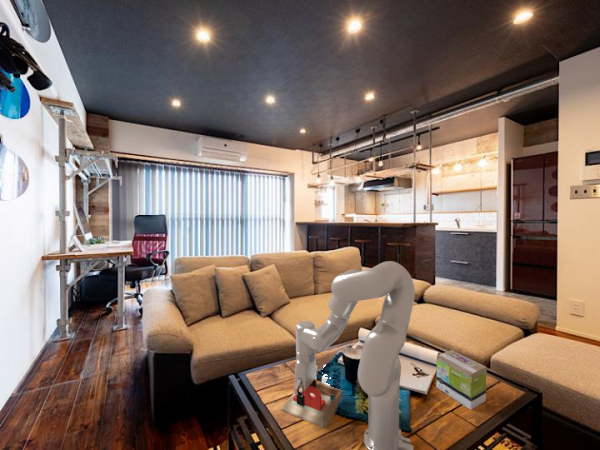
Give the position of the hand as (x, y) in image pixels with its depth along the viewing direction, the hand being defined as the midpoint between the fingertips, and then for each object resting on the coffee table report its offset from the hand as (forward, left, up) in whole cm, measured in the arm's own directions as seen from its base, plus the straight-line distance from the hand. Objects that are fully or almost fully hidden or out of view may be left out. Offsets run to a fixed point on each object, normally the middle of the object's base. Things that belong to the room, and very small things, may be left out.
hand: (306, 396), depth 108 cm
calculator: (-4, -21, -5) cm, 22 cm away
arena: (-2, -1, -4) cm, 4 cm away
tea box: (-52, -35, -4) cm, 63 cm away
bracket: (0, -2, -3) cm, 4 cm away
